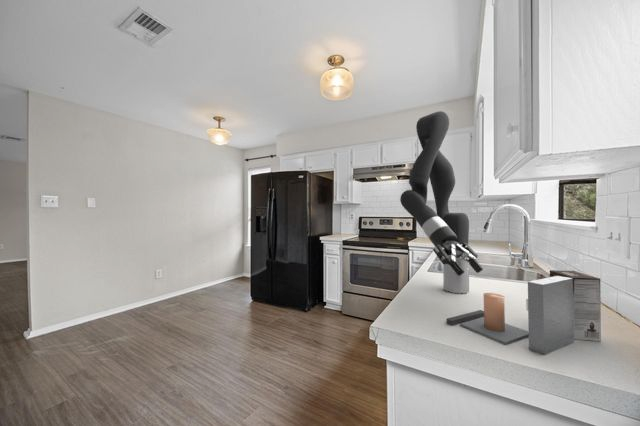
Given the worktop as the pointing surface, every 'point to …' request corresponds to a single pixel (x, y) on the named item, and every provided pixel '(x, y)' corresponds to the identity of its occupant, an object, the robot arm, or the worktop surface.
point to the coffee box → (585, 304)
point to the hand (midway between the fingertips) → (471, 272)
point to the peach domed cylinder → (494, 312)
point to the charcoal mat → (503, 337)
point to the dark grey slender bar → (465, 317)
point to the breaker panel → (550, 314)
